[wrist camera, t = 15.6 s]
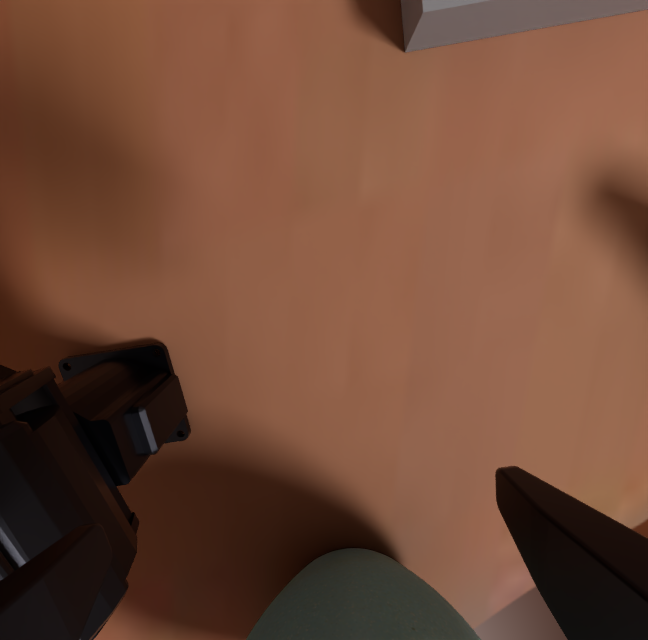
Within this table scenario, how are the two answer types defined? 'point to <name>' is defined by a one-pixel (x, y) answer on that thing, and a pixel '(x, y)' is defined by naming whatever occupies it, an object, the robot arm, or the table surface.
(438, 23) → the socket block
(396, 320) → the table surface
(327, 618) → the teal bowl
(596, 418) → the table surface
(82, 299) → the table surface
